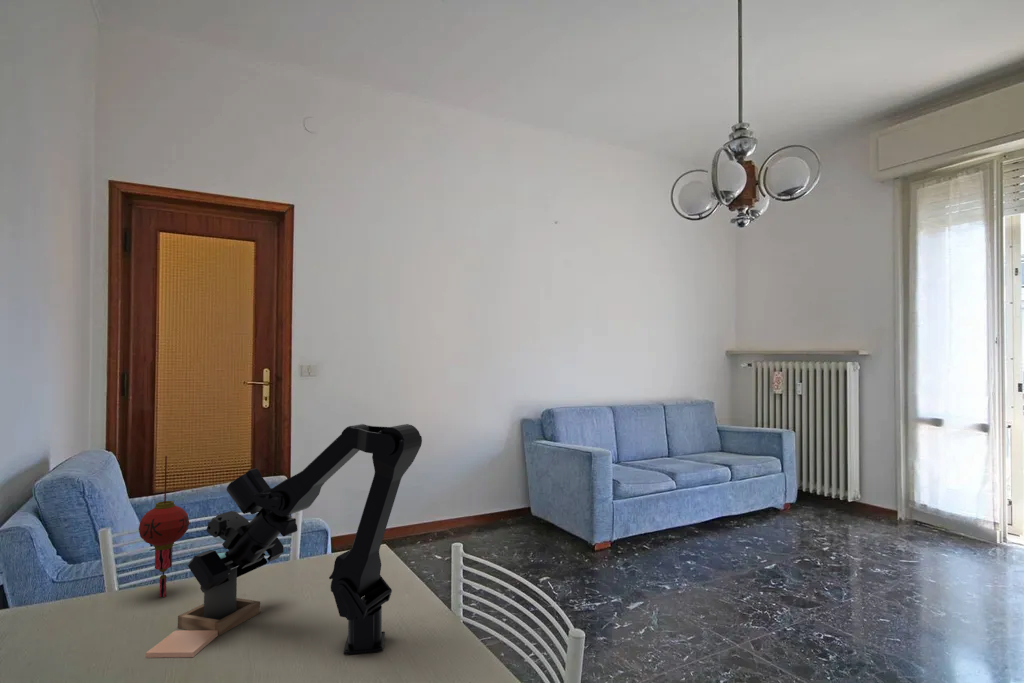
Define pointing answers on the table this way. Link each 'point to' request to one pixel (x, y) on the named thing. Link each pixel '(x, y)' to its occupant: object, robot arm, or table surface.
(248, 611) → the open square brown frame
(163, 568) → the lantern
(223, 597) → the teal-capped grey cylinder
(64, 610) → the table surface
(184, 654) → the coaster
